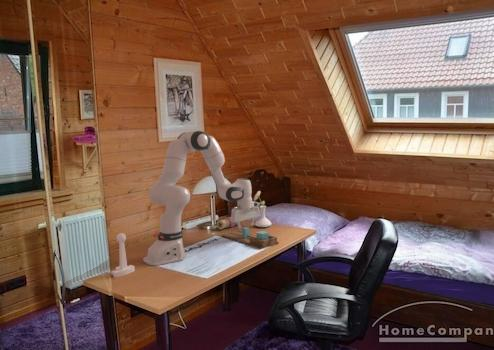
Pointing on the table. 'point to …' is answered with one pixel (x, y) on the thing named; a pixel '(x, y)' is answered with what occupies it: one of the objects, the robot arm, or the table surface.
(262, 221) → the flower in vase
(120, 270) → the joystick
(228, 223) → the scroll
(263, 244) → the lane board
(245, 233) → the block with cord
